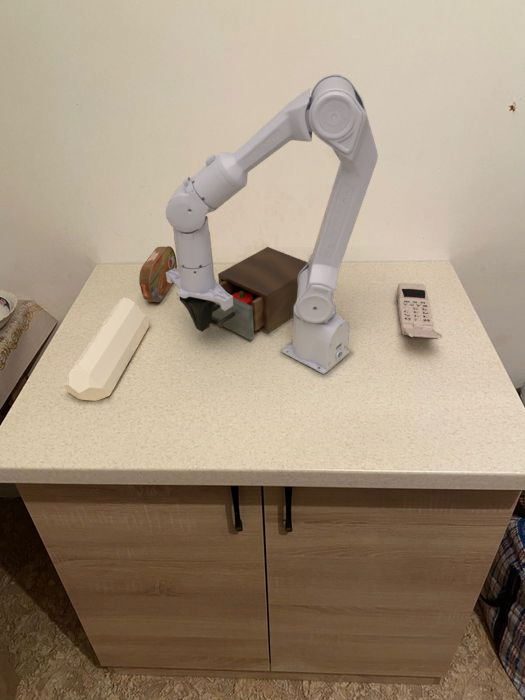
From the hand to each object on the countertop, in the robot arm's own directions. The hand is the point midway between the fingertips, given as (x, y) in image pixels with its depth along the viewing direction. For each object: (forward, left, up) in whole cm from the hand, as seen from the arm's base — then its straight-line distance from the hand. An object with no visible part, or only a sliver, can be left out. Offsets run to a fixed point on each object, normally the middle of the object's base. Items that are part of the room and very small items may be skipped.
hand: (203, 327), depth 90 cm
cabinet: (0, -18, -4) cm, 18 cm away
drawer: (0, -10, -3) cm, 11 cm away
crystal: (+10, +13, -5) cm, 18 cm away
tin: (+22, -8, -5) cm, 24 cm away
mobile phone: (-25, -31, -5) cm, 41 cm away
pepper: (0, -10, -2) cm, 10 cm away
